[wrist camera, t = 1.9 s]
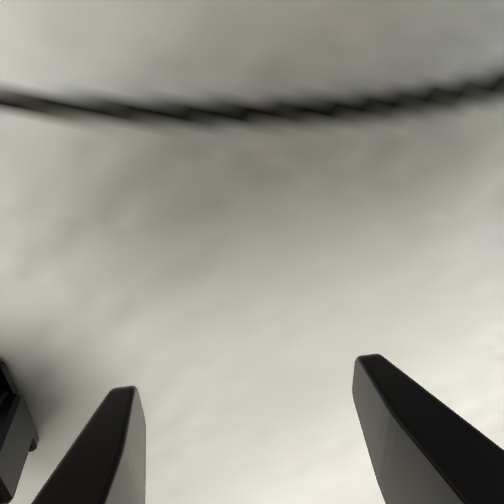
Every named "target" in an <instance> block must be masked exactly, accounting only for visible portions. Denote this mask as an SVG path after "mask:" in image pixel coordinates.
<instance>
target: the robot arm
mask: <svg viewBox="0 0 504 504" xmlns="http://www.w3.org/2000/svg"><path fill="white" fill-rule="evenodd" d="M352 393H353V399H354V403H355V407H356V410H357V414H358V417H359V420H360V424H361V427H362V431H363V434H364V438H365V441H366V445H367V448H368V452H369V455H370V459H371V462H372V465H373V469H374V472H375V475H376V479H377V482H378V485H379V487H380V490H381V493H382V495H383V498H384V500H385V503H386V504H504V450H503V449H501V448H500V447H499V446H498V445H496V444H495V443H494V442H492V441H491V440H490V439H489V438H487V437H486V436H485V435H483V434H482V433H481V432H480V431H478V430H477V429H476V428H474V427H473V426H472V425H471V424H469V423H468V422H467V421H465V420H464V419H463V418H462V417H460V416H459V415H458V414H456V413H455V412H454V411H453V410H451V409H450V408H449V407H447V406H446V405H445V404H444V403H442V402H441V401H440V400H438V399H437V398H436V397H435V396H433V395H432V394H431V393H429V392H428V391H427V390H426V389H424V388H423V387H422V386H420V385H419V384H418V383H416V382H415V381H414V380H413V379H411V378H410V377H409V376H407V375H406V374H405V373H404V372H402V371H401V370H400V369H398V368H397V367H396V366H395V365H393V364H392V363H391V362H389V361H388V360H387V359H386V358H384V357H383V356H381V355H379V354H370V355H363V356H359V357H357V358H356V360H355V366H354V376H353V386H352ZM35 430H36V426H35V424H34V422H33V419H32V417H31V415H30V413H29V410H28V408H27V406H26V404H25V401H24V399H23V397H22V396H21V395H20V394H19V393H18V392H17V389H16V387H15V385H14V383H13V380H12V378H11V376H10V374H9V372H8V369H7V367H6V365H5V364H4V362H2V361H1V360H0V504H9V503H10V502H11V500H12V499H13V498H14V495H15V492H16V489H17V486H18V482H19V479H20V476H21V473H22V470H23V467H24V464H25V461H26V458H27V455H28V452H31V451H34V450H35V449H36V448H37V445H38V442H39V438H38V436H37V434H36V432H35ZM145 476H146V425H145V417H144V413H143V409H142V405H141V401H140V397H139V393H138V390H137V388H136V387H135V386H126V387H118V388H113V389H112V390H110V391H109V393H108V394H107V395H106V397H105V398H104V400H103V401H102V403H101V404H100V406H99V407H98V408H97V410H96V411H95V413H94V414H93V416H92V417H91V418H90V420H89V421H88V423H87V424H86V426H85V427H84V429H83V430H82V431H81V433H80V434H79V436H78V437H77V439H76V440H75V441H74V443H73V444H72V446H71V447H70V449H69V450H68V451H67V453H66V454H65V456H64V457H63V459H62V460H61V462H60V463H59V464H58V466H57V467H56V469H55V470H54V472H53V473H52V474H51V476H50V477H49V479H48V480H47V482H46V483H45V485H44V486H43V487H42V489H41V490H40V492H39V493H38V495H37V496H36V497H35V499H34V500H33V502H32V503H31V504H145Z"/></svg>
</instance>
